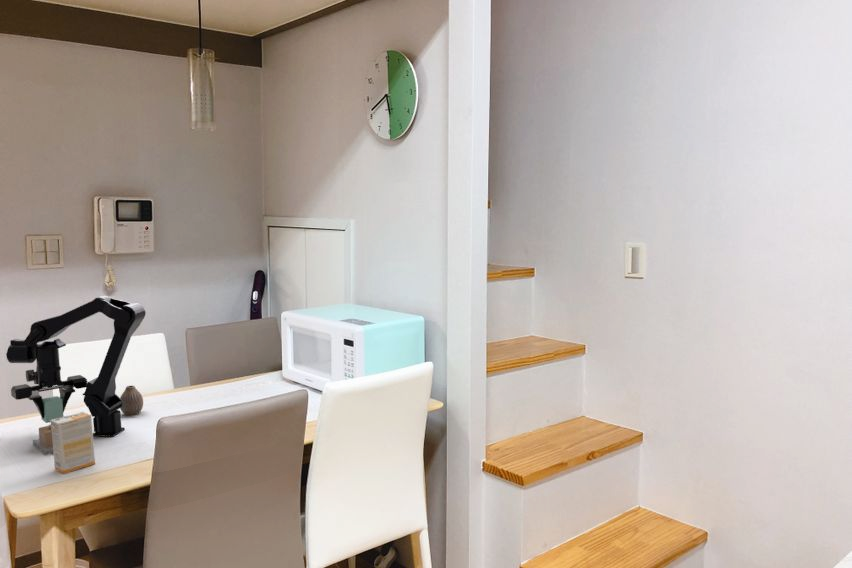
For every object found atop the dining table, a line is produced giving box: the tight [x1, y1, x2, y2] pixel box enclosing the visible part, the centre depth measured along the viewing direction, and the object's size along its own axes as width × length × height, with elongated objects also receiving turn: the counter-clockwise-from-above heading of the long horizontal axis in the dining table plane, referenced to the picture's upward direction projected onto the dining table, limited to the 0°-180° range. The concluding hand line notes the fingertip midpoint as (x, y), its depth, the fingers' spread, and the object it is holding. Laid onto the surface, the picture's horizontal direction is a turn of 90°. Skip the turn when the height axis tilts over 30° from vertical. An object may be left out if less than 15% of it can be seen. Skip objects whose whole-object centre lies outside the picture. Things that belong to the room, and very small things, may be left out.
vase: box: [119, 385, 144, 416], centre depth 219 cm, size 7×7×9 cm
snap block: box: [41, 395, 64, 424], centre depth 201 cm, size 5×5×6 cm
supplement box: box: [50, 411, 96, 474], centre depth 175 cm, size 8×5×13 cm, turn 141°
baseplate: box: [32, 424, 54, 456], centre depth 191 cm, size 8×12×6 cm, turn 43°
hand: (52, 415), depth 201 cm, fingers closed on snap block, 5 cm apart
